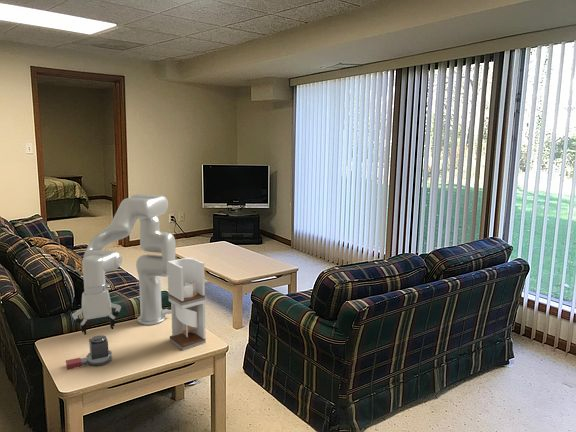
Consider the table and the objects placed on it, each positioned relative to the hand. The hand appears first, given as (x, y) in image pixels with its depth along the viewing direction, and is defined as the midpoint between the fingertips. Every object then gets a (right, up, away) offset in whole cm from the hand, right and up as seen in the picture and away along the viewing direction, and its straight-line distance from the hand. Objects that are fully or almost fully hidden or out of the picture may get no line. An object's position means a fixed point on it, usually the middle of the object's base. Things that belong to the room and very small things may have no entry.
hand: (98, 330), depth 176 cm
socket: (0, -10, +1) cm, 10 cm away
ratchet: (-3, -12, 0) cm, 13 cm away
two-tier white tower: (+30, -10, +19) cm, 37 cm away
